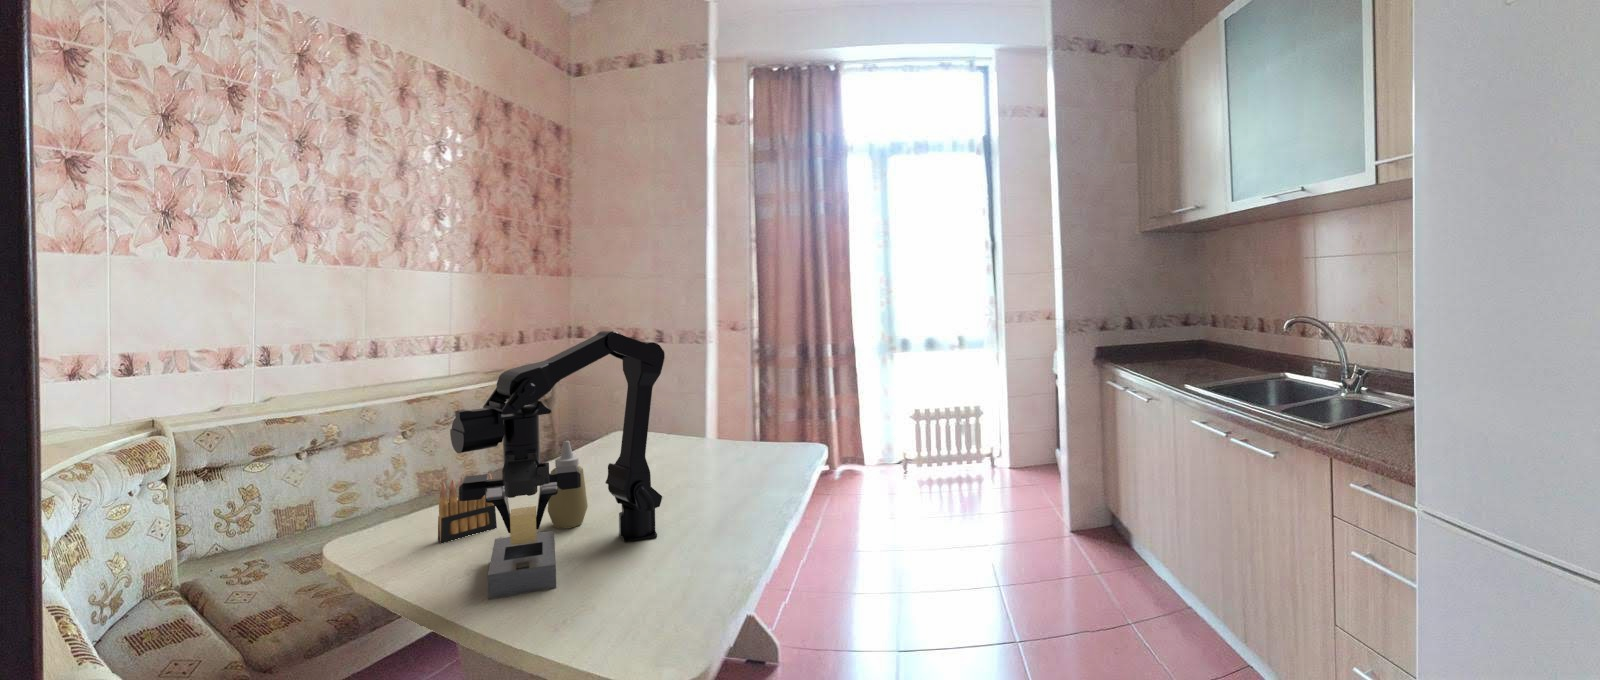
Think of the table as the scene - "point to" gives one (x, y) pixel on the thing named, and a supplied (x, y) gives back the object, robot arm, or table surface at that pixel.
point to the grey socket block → (522, 566)
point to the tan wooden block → (523, 525)
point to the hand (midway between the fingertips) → (523, 530)
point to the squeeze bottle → (568, 495)
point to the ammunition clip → (463, 515)
